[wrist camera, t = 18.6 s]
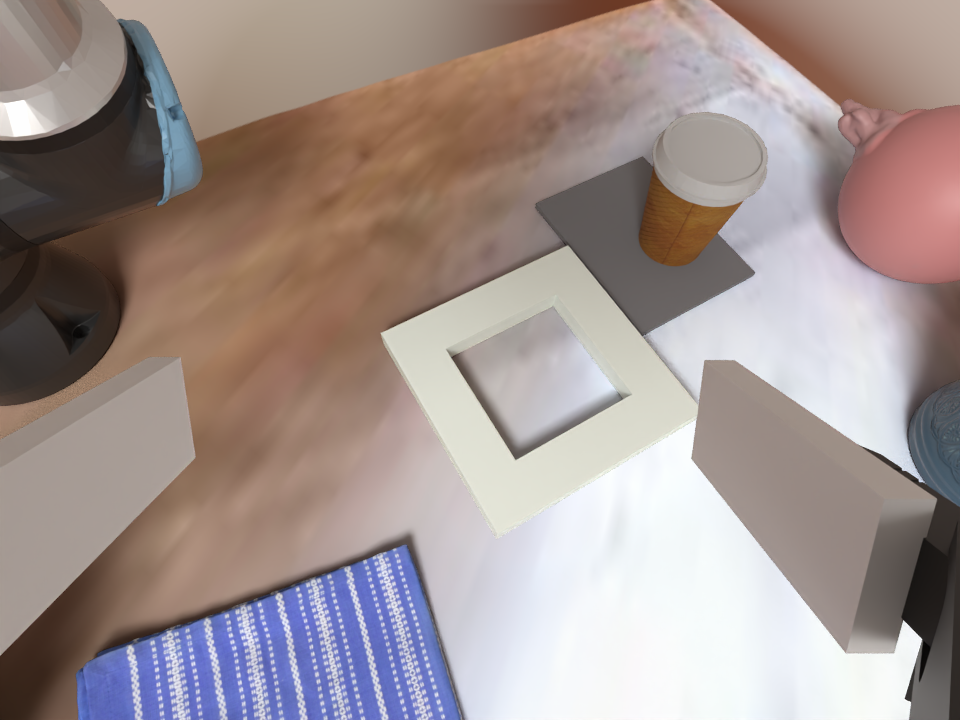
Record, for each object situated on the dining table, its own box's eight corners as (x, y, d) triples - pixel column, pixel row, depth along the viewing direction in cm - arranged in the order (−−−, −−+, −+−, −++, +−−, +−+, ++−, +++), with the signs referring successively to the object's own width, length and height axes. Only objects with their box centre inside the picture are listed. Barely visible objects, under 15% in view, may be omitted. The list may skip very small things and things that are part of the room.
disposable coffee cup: (663, 191, 61) (705, 93, 51) (736, 246, 58) (797, 152, 47) (602, 237, 58) (633, 142, 48) (675, 297, 55) (725, 210, 44)
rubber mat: (535, 207, 61) (536, 203, 60) (641, 160, 64) (642, 156, 64) (640, 336, 54) (641, 333, 53) (752, 276, 57) (755, 272, 57)
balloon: (847, 149, 66) (947, 15, 52) (996, 275, 58) (1159, 156, 44) (745, 198, 62) (823, 67, 48) (889, 340, 54) (1031, 232, 40)
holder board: (383, 344, 53) (380, 333, 51) (564, 257, 58) (568, 245, 56) (496, 539, 45) (497, 534, 43) (694, 420, 50) (703, 411, 48)
